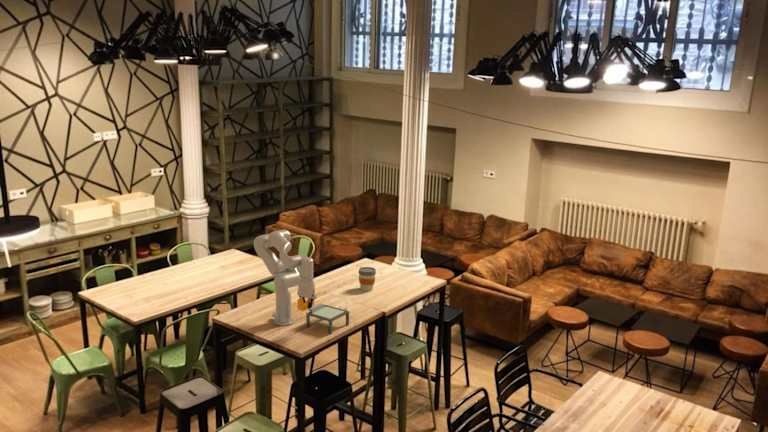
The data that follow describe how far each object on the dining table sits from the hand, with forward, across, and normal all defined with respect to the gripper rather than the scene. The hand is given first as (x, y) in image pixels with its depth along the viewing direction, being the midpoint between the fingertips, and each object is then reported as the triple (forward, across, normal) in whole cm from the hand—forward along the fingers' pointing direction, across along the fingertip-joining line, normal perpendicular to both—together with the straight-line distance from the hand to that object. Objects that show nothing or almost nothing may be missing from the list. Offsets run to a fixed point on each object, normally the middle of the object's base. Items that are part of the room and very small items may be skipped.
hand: (306, 306), depth 410 cm
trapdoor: (+9, +2, +17) cm, 19 cm away
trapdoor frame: (+17, +3, +17) cm, 24 cm away
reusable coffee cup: (+18, -17, +89) cm, 92 cm away
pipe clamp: (+1, 0, 0) cm, 1 cm away
